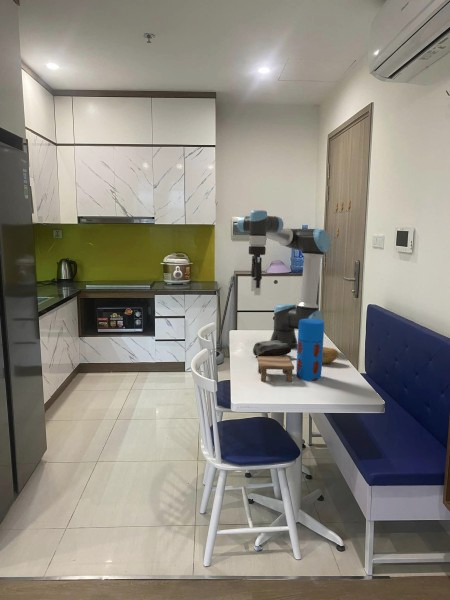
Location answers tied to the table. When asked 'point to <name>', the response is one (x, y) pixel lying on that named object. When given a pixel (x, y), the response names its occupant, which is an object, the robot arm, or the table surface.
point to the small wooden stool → (275, 366)
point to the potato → (329, 355)
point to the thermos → (310, 349)
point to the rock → (271, 348)
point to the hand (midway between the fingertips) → (255, 293)
